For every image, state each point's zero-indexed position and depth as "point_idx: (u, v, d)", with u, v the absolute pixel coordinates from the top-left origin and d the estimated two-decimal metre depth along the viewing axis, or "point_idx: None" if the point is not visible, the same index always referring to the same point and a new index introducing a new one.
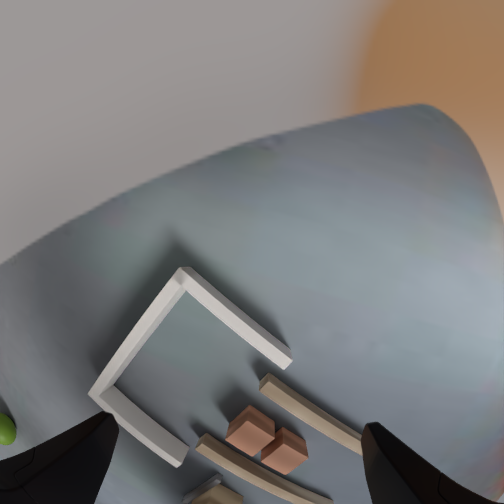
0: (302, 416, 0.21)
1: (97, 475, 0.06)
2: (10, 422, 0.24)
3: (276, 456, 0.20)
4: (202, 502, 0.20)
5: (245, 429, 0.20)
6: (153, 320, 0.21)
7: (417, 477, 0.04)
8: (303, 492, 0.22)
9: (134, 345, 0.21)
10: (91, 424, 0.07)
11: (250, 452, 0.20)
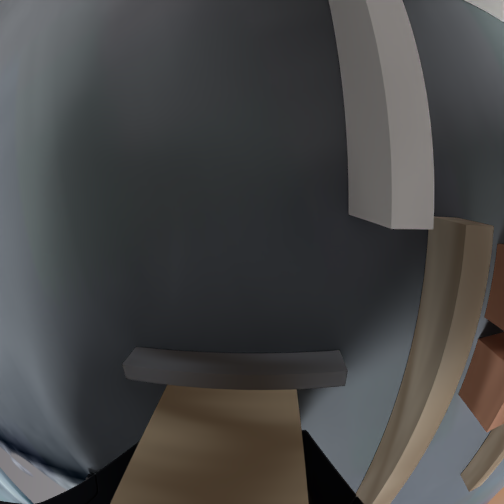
0: None
1: None
2: None
3: None
4: (250, 436, 0.06)
5: None
6: None
7: (326, 497, 0.04)
8: None
9: None
10: None
11: None
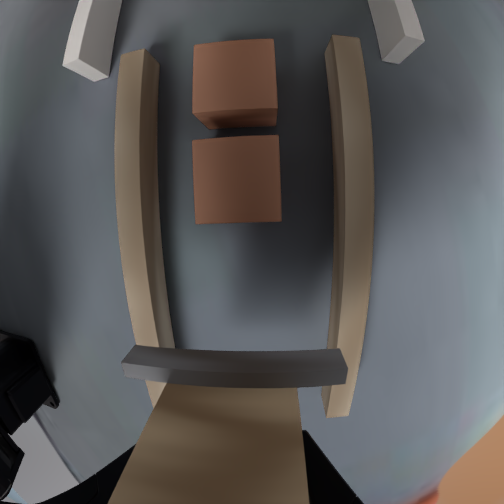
0: (350, 132, 0.10)
1: None
2: None
3: (232, 153, 0.09)
4: (250, 435, 0.06)
5: (251, 49, 0.08)
6: None
7: (326, 497, 0.04)
8: (165, 325, 0.13)
9: None
10: None
11: (201, 101, 0.09)
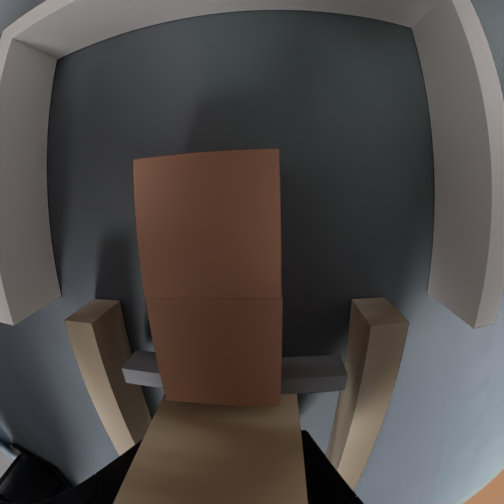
0: (355, 435, 0.08)
1: None
2: None
3: (208, 324, 0.06)
4: (250, 441, 0.06)
5: (235, 175, 0.05)
6: None
7: (326, 497, 0.05)
8: None
9: None
10: None
11: (155, 278, 0.06)
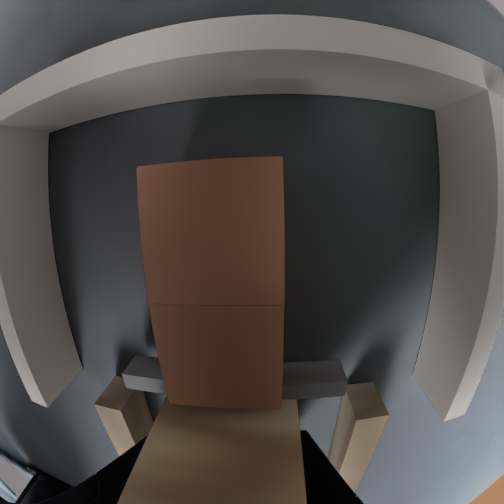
0: None
1: None
2: None
3: (211, 330, 0.06)
4: (250, 447, 0.06)
5: (239, 182, 0.05)
6: (362, 54, 0.05)
7: (326, 497, 0.04)
8: None
9: (222, 49, 0.05)
10: None
11: (159, 285, 0.06)
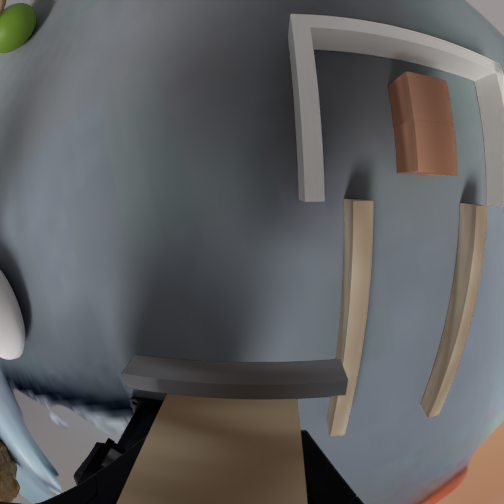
0: (473, 272, 0.15)
1: None
2: (33, 25, 0.13)
3: (434, 132, 0.12)
4: (250, 447, 0.06)
5: (437, 85, 0.12)
6: (460, 56, 0.11)
7: (326, 497, 0.04)
8: None
9: (425, 45, 0.11)
10: None
11: (417, 111, 0.12)
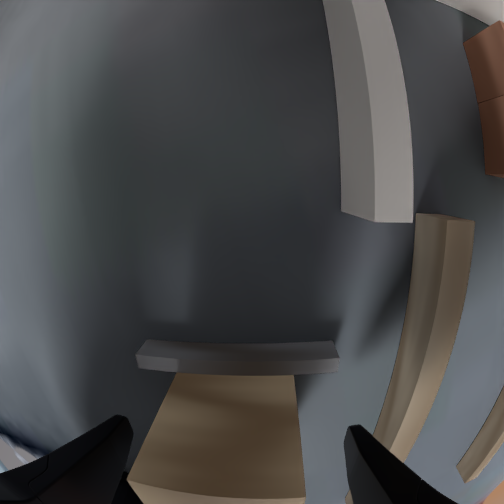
0: None
1: (112, 480, 0.06)
2: None
3: None
4: (252, 414, 0.07)
5: None
6: None
7: (396, 483, 0.04)
8: None
9: None
10: (106, 428, 0.07)
11: None
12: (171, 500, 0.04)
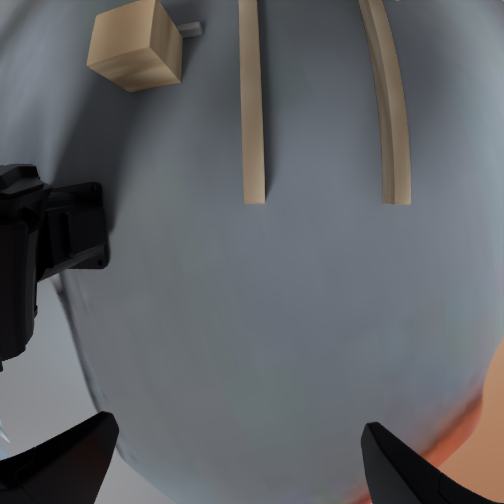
0: (376, 19, 0.13)
1: (97, 475, 0.06)
2: None
3: None
4: None
5: None
6: None
7: (417, 477, 0.04)
8: None
9: None
10: (91, 424, 0.07)
11: None
12: (108, 17, 0.10)
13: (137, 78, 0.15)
